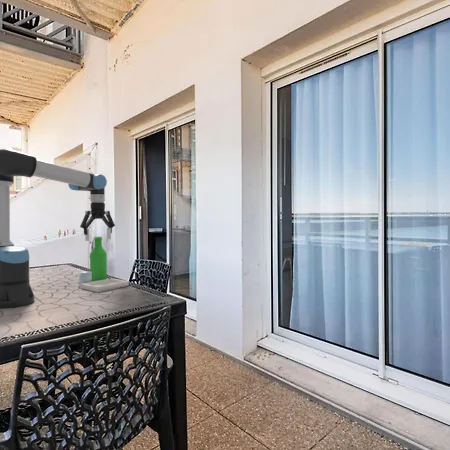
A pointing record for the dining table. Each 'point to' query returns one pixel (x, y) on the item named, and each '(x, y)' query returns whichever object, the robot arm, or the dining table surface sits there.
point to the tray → (104, 285)
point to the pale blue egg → (85, 277)
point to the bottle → (98, 261)
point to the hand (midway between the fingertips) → (98, 239)
